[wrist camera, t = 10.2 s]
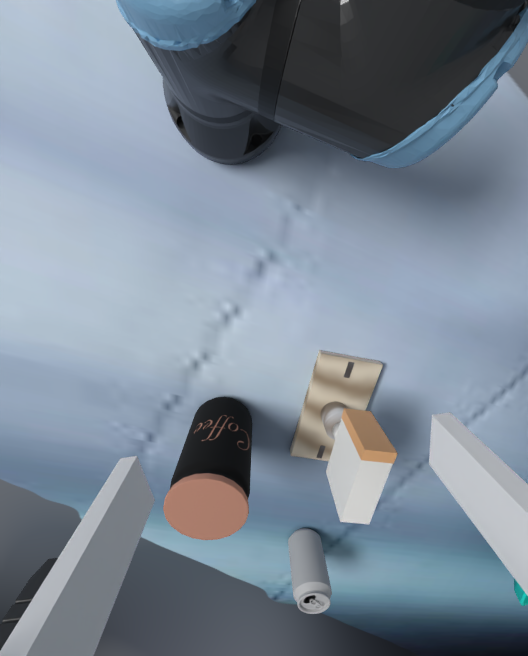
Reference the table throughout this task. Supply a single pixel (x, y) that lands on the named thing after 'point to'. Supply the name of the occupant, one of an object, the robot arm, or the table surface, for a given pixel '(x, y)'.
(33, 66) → the table surface
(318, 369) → the lock board
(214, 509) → the coffee jar
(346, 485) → the orange-capped white bar
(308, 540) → the can
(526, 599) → the table top decor
